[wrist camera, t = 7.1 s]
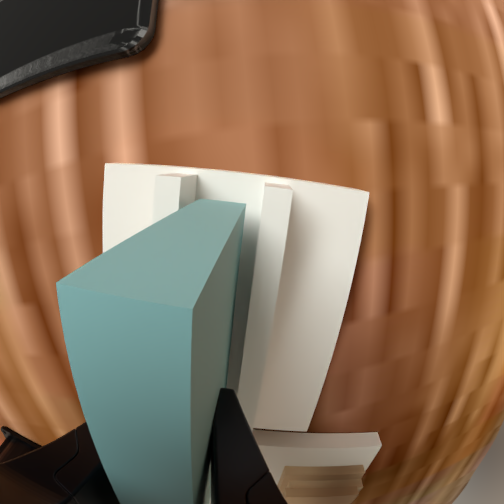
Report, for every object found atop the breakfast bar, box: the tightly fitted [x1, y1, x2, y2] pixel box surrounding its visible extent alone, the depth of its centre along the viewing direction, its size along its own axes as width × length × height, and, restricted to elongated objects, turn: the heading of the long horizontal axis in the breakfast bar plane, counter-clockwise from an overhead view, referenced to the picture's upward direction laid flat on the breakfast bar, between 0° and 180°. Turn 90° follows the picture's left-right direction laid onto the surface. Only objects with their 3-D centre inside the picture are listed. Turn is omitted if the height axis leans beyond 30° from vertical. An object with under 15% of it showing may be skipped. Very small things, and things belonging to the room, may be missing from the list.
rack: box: [209, 429, 382, 504], centre depth 16 cm, size 16×13×2 cm
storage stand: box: [103, 163, 369, 432], centre depth 12 cm, size 10×12×3 cm
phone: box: [0, 0, 159, 98], centre depth 10 cm, size 8×1×15 cm
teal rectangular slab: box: [56, 199, 246, 504], centre depth 8 cm, size 2×10×8 cm, turn 173°
